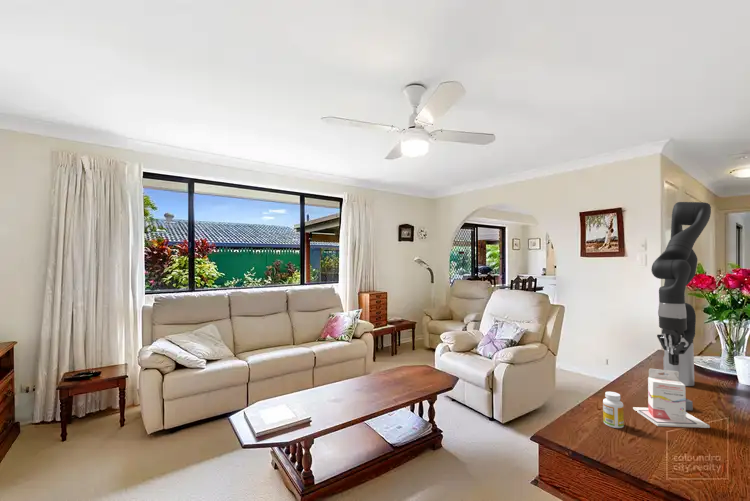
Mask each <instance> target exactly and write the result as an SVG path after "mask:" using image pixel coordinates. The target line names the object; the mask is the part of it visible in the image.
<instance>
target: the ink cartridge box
mask: <svg viewBox="0 0 750 501" xmlns="http://www.w3.org/2000/svg"><path fill="white" fill-rule="evenodd" d="M664 373H666V374H669V375H668V376H667V375H664ZM647 384H648V385H647V390H648V391H647V392H648V393H647V397H648V398H647V399H648V400H647V401H648V404H647V405H648V406H647V408H648V411H649V412H650V414H651V415H652V416H653V417H654V418H661V419H668V420H675V421H681V422H686V412H687V410H686V399H687V398H686V394H687V393H686V386H685V385H684V384H683V383H682V382H680V381H679V372H678V371H670V370H664V369H661V368H658V369H657V368H649V369H648V377H647Z"/></svg>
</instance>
